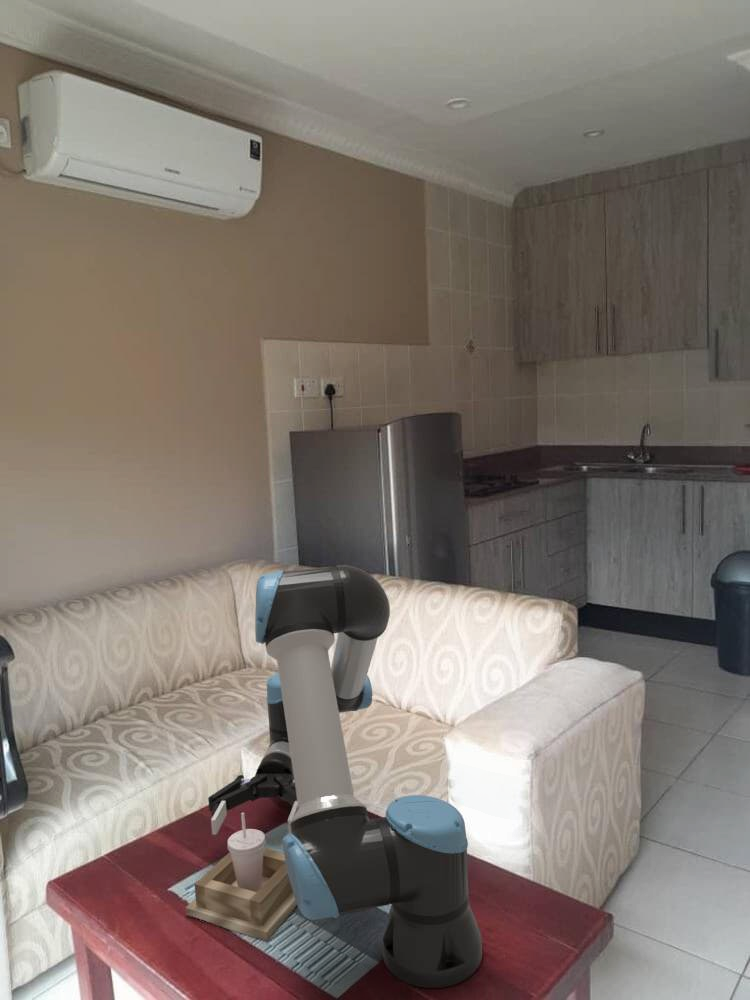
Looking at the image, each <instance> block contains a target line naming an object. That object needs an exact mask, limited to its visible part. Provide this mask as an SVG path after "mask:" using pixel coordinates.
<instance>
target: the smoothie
mask: <svg viewBox="0 0 750 1000" xmlns="http://www.w3.org/2000/svg"><path fill="white" fill-rule="evenodd" d="M240 815H241V817H240V818H241V828H242V829H241V830H237V831H235V832H234V833H232V834H231V835H230V836H229V837H228V839H227V850H228V851H229V852H231V857H232V861H233V866H234V871H235V875H236V880H237V884H238V887H239V888H243V889H247V890H250V891H254V892H257V891H258V890H259V889H260V888H261V887H262V870H263V851H264V848H265V845H266V842H267V841H266V836H265V833H264V832H263V831H262V830H260V829H259V830H258V829H255V828H246V818H245V816H246V815H245V812H241V813H240Z"/></svg>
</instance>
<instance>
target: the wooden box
mask: <svg viewBox="0 0 750 1000" xmlns="http://www.w3.org/2000/svg"><path fill="white" fill-rule="evenodd" d="M194 894H195V898H194V899H193V900H192V901H191V902H189V904H188V905H187V906H185V916H186V915H190V916H193V917H196V918H199V919H201V920H202V919H203V920H205V921H207V922H211V923H213V924H212V925H214V924H215V925H214V926H217V927H220V926H221V928H224V929H227V930H231V931H233V932H237V933H239V934H243V935H247V936H249V937H252V938H257V939H259V940H263V941H266V942H267V941H268V940H269V939H270V938H271V937H272V936H273V934H274V933H275V932H276V931H277V930H278V929H279V927H280V926H281V925H282V924H283V923H284V922H285V920H286V919H287V918H288V917H289V916H290V915H291V914H292V912H294V910H295V909H296V908H297V907H298V905H297V902H296V899H295V897H294V893H293V890H292V887H291V883H290V879H289V876H288V871H287V867H286V862H285V855H284V852H282V851H278V850H273V849H271V848H270V849H268V848H265V847H264V851H263V870H262V887H261V888H260V889H259V890H258V891H257V892H254V891H250V890H247V889H243V888H239V887H238V884H237V880H236V875H235V871H234V866H233V861H232V857H231V852H230V851H229V852H228V853H227V854H226V855H225V856H224V857H222V858H221V859H219V861H218V862H216V864H215V865H214V866H212V867H211V868H210V869H209V870H208V871H207V872H206V873H205V874H203V876H201V878H199V879H198V880H197V881H196V882H195V883H194ZM296 906H297V907H296ZM295 907H296V908H295ZM201 920H200V921H201ZM207 922H206V923H207ZM277 928H278V929H277Z"/></svg>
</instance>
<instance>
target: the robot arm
mask: <svg viewBox="0 0 750 1000" xmlns="http://www.w3.org/2000/svg"><path fill="white" fill-rule="evenodd" d="M255 590H256V591H255V617H254V619H255V620H254V624H255V626H254V627H255V628H254V630H255V631H254V633H255V642H256V643H258V644H261V645H262V644H265V651H266V654H267V656H270V657H271V658H272V659H274V660H275V661H276V663H277V670H278V673H276V674H273V675H271V676H270V677H269V678H268V679H267V682H266V704H267V705H266V706H267V713H268V715H267V717H268V724H269V725H268V726H269V727H268V730H269V745H268V748H267V749H266V751H265V753H264V756H263V757H262V758H261V761H260V763H259V765H258V767H257V769H256V772H255V774H254V776H252V777H251V778H250V779H247V778H244V775H243V774H239V775H237V776H236V778H235V779H234V780H232V781H231V782H230V783H228V784H227V785H225V786H224V787H222V788H220V789H219V790H217V791H216V792H214V793H213V794H211V795H210V796H209V797H208V798H207V801H208V811H209V812H210V813H211V819H210V825H211V835H214V836H215V835H218V832H219V831H220V829H221V827H222V824H223V823H224V821H225V819H226V817H227V815H228V814H227V813H228V811H230V810H232V809H234V808H236V807H238V806H241V805H243V804H245V803H247V802H249V801H251V802H254V801H256V800H258V799H260V798H273V799H274V798H279V799H280V800H281V801H283V802H287V804H289V805H290V806H291V807H292V808H291V811H290V814H289V815H288V819H287V831H288V833H287V835H285V836H284V837H283V838H282V851H283V853H284V855H285V862H286V867H287V871H288V876H289V879H290V883H291V887H292V890H293V893H294V897H295V899H296V902H297V907H298V909H299V911H300V912H301V914H302V915H303V916H304V918H306V919H308V920H310V921H311V920H312V921H315V920H316V921H317V920H323V919H327V918H333V919H337V918H339V916H343V915H348V914H353V913H357V912H362V911H365V910H370V909H375V908H380V907H384V906H388V905H390V907H389V912H388V916H387V919H386V923H385V924H384V925H385V926H384V929H383V932H382V935H381V936H382V937H381V946H382V947H381V949H382V959H383V962H384V965H385V966H386V968H387V969H388V970H389V972H390V973H391V974H392V975H393V976H395V977H396V978H398V980H400V981H402V982H404V983H406V984H408V985H411V986H413V987H420V988H426V989H441V988H448V987H451V986H454V985H458V984H460V983H462V982H463V981H465V980H467V979H469V978H470V977H471V976H472V975H473V974H474V973H475V972H476V971H477V969H478V968H479V966H480V964H481V963H482V958H483V939H482V933H481V931H480V928H479V926H478V923H477V921H476V918H475V915H474V913H473V910H472V908H471V906H470V900H469V898H470V897H469V878H468V877H469V874H468V870H469V869H468V847H469V846H468V845H469V843H468V842H469V841H468V837H467V832H466V823H465V820H464V817H463V815H462V814H461V813H462V812H460V810H459V809H458V808H456V807H455V806H454V805H452V804H451V803H449V802H447V801H445V800H443V799H440V798H438V797H433V796H431V795H429V796H428V795H422V794H421V795H419V794H415V795H414V794H411V795H404V796H400V797H397V798H395V799H394V801H391V802H390V803H388V804H389V805H388V806H387V808H386V810H385V816H383V817H378V818H372V819H370V818H369V814H368V808H367V805H366V804H365V803H363V802H362V801H360V800H359V799H357V798H356V796H355V793H354V788H353V783H352V776H351V771H350V765H349V761H348V754H347V751H346V750H347V749H346V744H345V739H344V738H345V737H344V732H343V727H342V721H341V717H340V713H346V712H347V713H348V712H357V711H358V710H363V709H368V708H369V707H371V706H372V703H373V689H372V682H371V680H370V678H369V675H368V672H369V669H370V665H371V663H372V659H373V656H374V652H375V648H376V646H377V642H378V639H379V637H381V636H383V634H384V633H385V631H386V629H387V627H388V623H389V620H390V615H391V608H390V607H391V606H390V601H389V598H388V596H387V593H386V592H385V589H384V588H383V586H382V585H381V584H380V582H379V581H378V580H377V579H376V578H375V577H374V576H372V575H371V574H370V573H368V572H367V571H366V570H363V569H361V568H358V567H357V566H354V565H353V566H352V565H347V564H339V565H332V566H322V567H314V568H313V567H311V568H305V569H303V568H302V569H294V570H293V569H292V570H286V571H285V570H283V569H282V570H280V571H277V572H270V573H269V572H268V573H264V574H263V575H261V576H260V577H259V578H258V579H257V582H256V589H255ZM335 634H337V639H335ZM335 641H336V643H335ZM334 643H335V647H334V652H333V657H332V663H331V662H330V658H329V657H330V656H329V650H330V649H331V648H332V646H333V645H334Z"/></svg>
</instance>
